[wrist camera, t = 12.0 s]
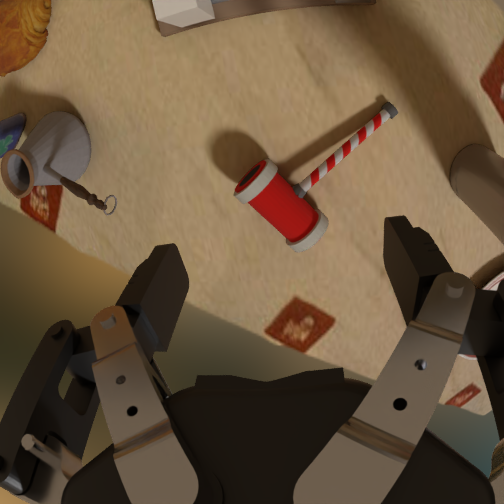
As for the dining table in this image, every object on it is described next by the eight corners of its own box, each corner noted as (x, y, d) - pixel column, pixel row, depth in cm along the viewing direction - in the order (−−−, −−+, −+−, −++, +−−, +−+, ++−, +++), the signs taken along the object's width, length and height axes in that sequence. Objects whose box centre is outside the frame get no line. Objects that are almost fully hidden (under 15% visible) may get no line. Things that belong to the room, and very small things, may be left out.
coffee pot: (43, 170, 43) (-16, 212, 30) (45, 104, 36) (-24, 131, 24) (153, 198, 45) (108, 256, 32) (166, 123, 38) (112, 157, 26)
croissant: (5, 9, 27) (-29, 13, 21) (60, -23, 24) (22, -27, 18) (3, 80, 35) (-31, 89, 28) (56, 59, 32) (16, 65, 26)
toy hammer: (361, 70, 32) (375, 72, 27) (415, 139, 36) (434, 152, 31) (235, 182, 43) (228, 202, 37) (293, 236, 47) (294, 261, 41)
